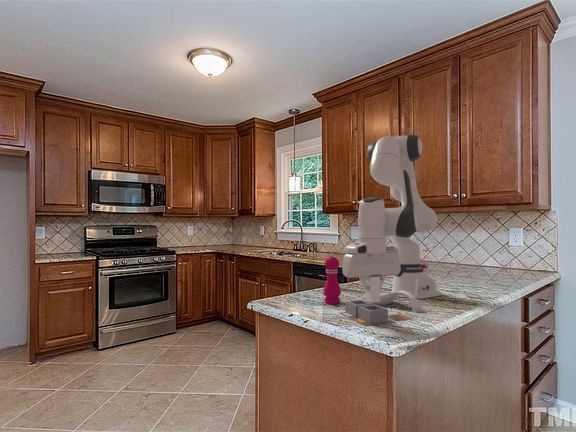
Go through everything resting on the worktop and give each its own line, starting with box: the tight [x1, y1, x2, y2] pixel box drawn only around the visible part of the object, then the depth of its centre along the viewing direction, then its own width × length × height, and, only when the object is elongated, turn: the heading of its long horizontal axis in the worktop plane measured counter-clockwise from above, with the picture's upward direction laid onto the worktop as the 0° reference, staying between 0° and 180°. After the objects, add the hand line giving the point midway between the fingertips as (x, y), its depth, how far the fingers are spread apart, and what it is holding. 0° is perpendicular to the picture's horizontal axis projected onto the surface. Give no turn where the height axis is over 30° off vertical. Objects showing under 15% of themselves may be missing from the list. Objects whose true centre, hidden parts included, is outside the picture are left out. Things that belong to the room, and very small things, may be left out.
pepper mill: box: [322, 252, 342, 305], centre depth 144 cm, size 7×7×20 cm
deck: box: [388, 313, 413, 322], centre depth 118 cm, size 7×7×1 cm
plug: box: [364, 274, 381, 302], centre depth 114 cm, size 3×3×9 cm
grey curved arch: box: [362, 291, 423, 313], centre depth 135 cm, size 24×12×7 cm, turn 37°
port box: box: [339, 299, 396, 327], centre depth 118 cm, size 11×16×5 cm
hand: (372, 289), depth 114 cm, fingers closed on plug, 3 cm apart
